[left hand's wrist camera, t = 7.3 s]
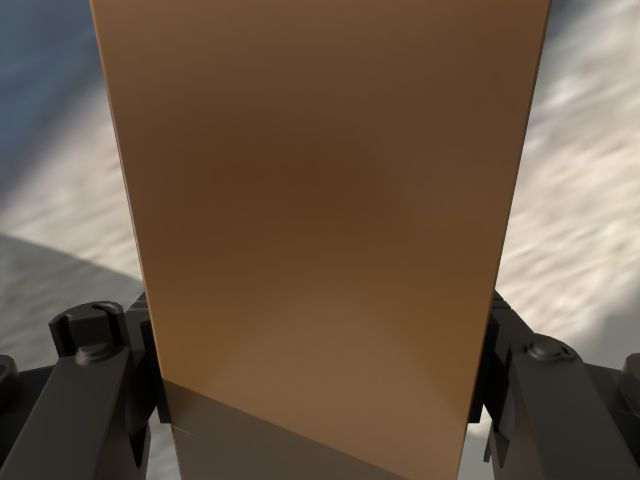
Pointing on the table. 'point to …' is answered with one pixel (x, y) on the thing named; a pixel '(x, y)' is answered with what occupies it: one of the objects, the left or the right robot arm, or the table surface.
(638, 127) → the table surface
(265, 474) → the bar
